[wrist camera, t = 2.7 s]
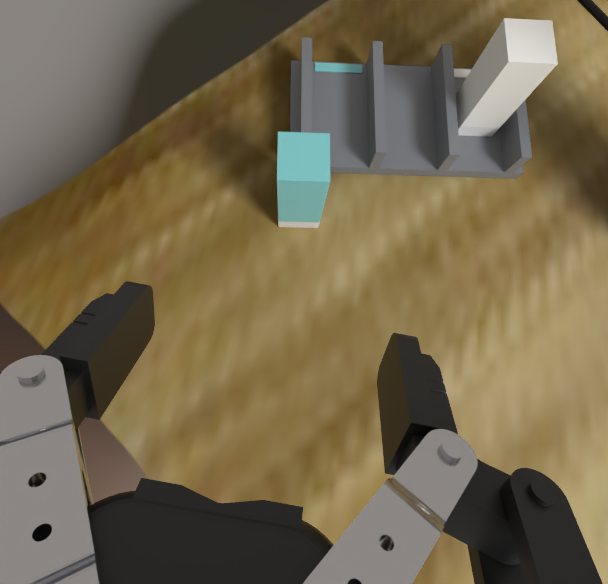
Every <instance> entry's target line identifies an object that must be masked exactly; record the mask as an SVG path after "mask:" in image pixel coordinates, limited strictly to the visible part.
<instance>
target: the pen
mask: <svg viewBox="0 0 608 584" xmlns="http://www.w3.org/2000/svg"><path fill="white" fill-rule="evenodd" d="M578 1H579V2H580V3H581V4H582V5H583V6H584V7H585V8H586V9H587V10H588V11H589V12H590V13H591V14H592V15H593V16H594V17H595V18H596V19H597V20H598V21H599V22H600V23H601V24H602V25H603V26H604V27H605V28H606V29H607V30H608V16H607V15H606V14H605V13H604V12H603V11H602V10H601V9H600V8H599V7H598V6H597V5H596V4H595V3H594V2H593V1H592V0H578Z"/></svg>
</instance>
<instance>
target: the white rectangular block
mask: <svg viewBox="0 0 608 584" xmlns="http://www.w3.org/2000/svg"><path fill="white" fill-rule="evenodd" d="M557 64H558V62H557V54H556V46H555V39H554V31H553V23H552V21H547V20H528V19H509V18H504V19H503V21H502V22H501V24H500V25H499V27H498V29H497V30H496V32H495V33H494V35H493V36H492V38H491V40H490V41H489V43H488V44H487V46H486V48H485V49H484V51H483V52H482V54H481V55H480V57H479V59H478V60H477V62H476V63H475V65H474V66H473V68H472V70H471V71H470V73H469V74H468V76H467V77H466V79H465V81H464V82H463V84H462V85H461V87H460V88H459V90H458V92H457V93H456V106H457V120H458V134H459V135H462V136H489V137H492V136H493V135H494V134H495V132H496V131H497V130H498V129H499V128H500V127H501V126H502V125H503V124H504V123H505V121H506V120H507V119H508V118H509V117H510V116H511V115H512V114H513V113H514V112H515V110H516V109H517V108H518V107H519V106H520V105H521V104H522V103H523V102H524V101H525V99H526V98H527V97H528V96H529V95H530V94H531V93H532V92H533V91H534V90H535V88H536V87H537V86H538V85H539V84H540V83H541V82H542V81H543V80H544V79H545V77H546V76H547V75H548V74H549V73H550V72H551V71H552V70H553V69H554V68H555V66H556V65H557Z"/></svg>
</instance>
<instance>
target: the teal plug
mask: <svg viewBox="0 0 608 584" xmlns="http://www.w3.org/2000/svg"><path fill="white" fill-rule="evenodd" d="M329 185H330V133H303V132H278V154H277V197H278V227H305V228H319V224H320V220H321V216H322V212H323V208H324V204H325V200H326V196H327V193H328V189H329Z"/></svg>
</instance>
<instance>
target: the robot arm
mask: <svg viewBox="0 0 608 584" xmlns="http://www.w3.org/2000/svg"><path fill="white" fill-rule="evenodd" d="M154 325H155V320H154V303H153V290H152V287H151V286H149V285H144V284H138V283H133V282H125V283H124V284H123V285H122V286H121V287H120V288H119V289H118V290H117V292H116V293H115V294H114V295H113V294H108V293H107V294H105V295H103V296H101V297H99V298H97V299H95V300H93V301H92V302H91V303H90V304H89V305H88V306H87V307H86V308H85V309H84V310H83V311H82V313H81V314H79V315H78V316H77V317H76V318H75V320H74V321H73V323H71V324H70V325H69V326H68V327H67V328H66V329H65V330H64V331H63V332H62V333H61V334H60V335H59V336H58V337H57V338H56V340H55V341H54V342H53V343H52V344H51V345H50V346H49V347H48V348H47V349H46V350H45V351H44V352H43V353H42V354H41V355H35V356H29V357H26V358H23V359H20V360H18V361H16V362H14V363H12V364H11V365H9V366H8V367H6V368H5V369H4V371H2V372H0V584H412V583H413V581H414V579H415V578H416V576H417V574H418V573H419V571H420V569H421V567H422V566H423V564H424V562H425V560H426V559H427V557H428V555H429V554H430V552H431V550H432V548H433V547H434V545H435V543H436V542H437V540H438V538H439V536H440V535H441V533H442V531H443V532H445V533H447V534H449V535H451V536H452V537H454V538H456V539H458V540H460V541H462V542H464V543H466V544H467V545H468V550H469V555H470V561H471V566H472V572H473V577H474V583H475V584H602V581H601V579H600V576H599V574H598V572H597V569H596V567H595V565H594V562H593V560H592V557H591V555H590V553H589V550H588V548H587V545H586V543H585V541H584V538H583V536H582V533H581V531H580V529H579V526H578V524H577V521H576V519H575V517H574V514H573V512H572V509H571V507H570V505H569V502H568V500H567V498H566V496H565V495H564V493H563V492H562V490H561V489H560V488H559V487H558V486H557V485H556V484H555V483H554V482H553V481H552V480H551V479H550V478H548V477H547V476H545V475H544V474H542V473H540V472H538V471H536V470H533V469H529V468H520V469H517V470H515V471H514V472H513V473H512V475H511V476H510V475H508V474H506V473H504V472H502V471H500V470H498V469H496V468H494V467H491V466H489V465H487V464H485V463H483V462H482V461H480V460H479V459H477V457H476V454H475V452H474V450H473V449H472V447H471V446H470V445H469V443H468V442H467V441H466V440H465V439H463V438H462V437H461V436H459V435H458V433H457V429H456V425H455V422H454V418H453V415H452V411H451V407H450V404H449V400H448V397H447V394H446V389H445V386H444V383H443V379H442V375H441V371H440V368H439V367H438V365H437V364H436V363H435V361H434V360H433V359H432V357H431V356H430V355H426V354H421V351H420V346H419V342H418V339H417V337H413V336H408V335H403V334H398V333H393V334H392V336H391V338H390V341H389V343H388V346H387V349H386V351H385V354H384V356H383V359H382V361H381V364H380V367H379V371H378V378H377V387H378V398H379V409H380V421H381V432H382V444H383V455H384V467H385V473H386V474H391V475H394V476H393V477H392V478H391V479H390V478H389V479H388V480H387V481H386V482H385V483H384V484H383V485H382V486H381V487H380V489H379V490H378V491H377V492H376V494H375V495H374V496H373V497H372V499H371V500H370V501H369V502H368V504H367V505H366V506H365V507H364V508H363V510H362V511H361V512H360V513H359V515H358V516H357V517H356V518H355V520H354V521H353V522H352V523H351V525H350V526H349V527H348V528H347V529H346V531H345V532H344V533H343V534H342V536H341V537H340V538H339V539H338V541H337V542H336V543H335V544H334V545H333V544H332V543H331V542H330V541H329V539H328V538H327V537H326V536H325V535H324V534H322V533H321V532H320V531H319V530H318V529H316V528H315V527H313V526H312V525H310V524H309V523H307V522H305V521H303V520H302V512H303V507H299V506H293V505H288V504H282V503H277V502H271V501H266V500H259V501H247V502H235V503H217V502H215V501H213V500H211V499H209V498H207V497H204V496H202V495H200V494H198V493H196V492H194V491H192V490H190V489H188V488H186V487H184V486H182V485H177V484H172V483H166V482H161V481H155V480H150V479H144V478H141V480H140V482H139V485H138V487H137V489H136V491H130V492H124V493H119V494H117V495H113V496H110V497H107V498H105V499H102V500H100V501H98V502H96V503H94V504H93V499H92V495H91V490H90V485H89V481H88V475H87V470H86V465H85V460H84V454H83V449H82V444H81V438H80V433H79V429H78V427H79V425H80V424H81V422H82V421H83V420H84V418H85V417H87V418H93V419H98V420H100V418H101V416H102V415H103V413H104V412H105V410H106V409H107V407H108V406H109V404H110V402H111V401H112V399H113V398H114V396H115V395H116V393H117V391H118V390H119V388H120V387H121V385H122V384H123V382H124V380H125V379H126V377H127V376H128V374H129V373H130V371H131V369H132V368H133V366H134V365H135V363H136V362H137V360H138V359H139V357H140V355H141V354H142V352H143V351H144V349H145V348H146V346H147V344H148V343H149V341H150V339H151V337H152V335H153V331H154Z"/></svg>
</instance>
